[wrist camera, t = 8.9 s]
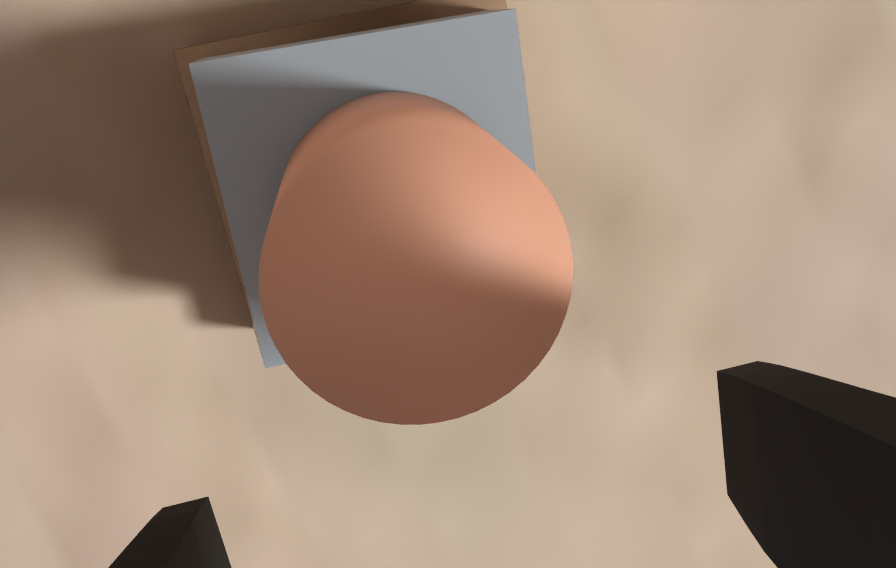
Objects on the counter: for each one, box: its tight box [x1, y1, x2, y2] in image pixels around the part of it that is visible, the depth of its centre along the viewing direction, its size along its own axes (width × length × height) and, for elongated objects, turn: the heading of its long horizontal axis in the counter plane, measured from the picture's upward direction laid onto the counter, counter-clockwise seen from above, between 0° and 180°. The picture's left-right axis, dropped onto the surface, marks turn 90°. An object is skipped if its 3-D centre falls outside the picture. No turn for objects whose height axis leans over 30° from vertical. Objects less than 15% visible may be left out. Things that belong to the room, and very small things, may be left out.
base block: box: [173, 0, 507, 356], centre depth 20 cm, size 7×7×2 cm
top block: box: [189, 9, 536, 368], centre depth 17 cm, size 6×6×2 cm
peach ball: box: [259, 92, 573, 425], centre depth 14 cm, size 4×4×4 cm
